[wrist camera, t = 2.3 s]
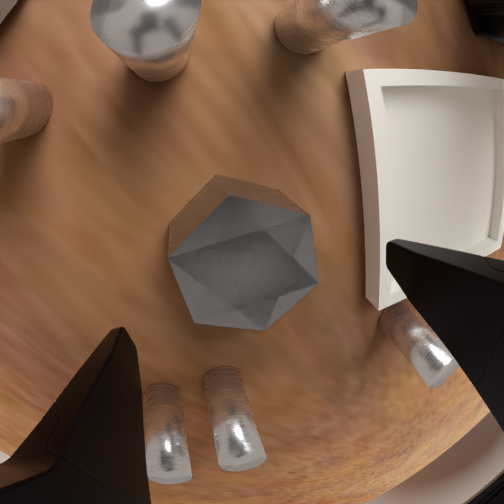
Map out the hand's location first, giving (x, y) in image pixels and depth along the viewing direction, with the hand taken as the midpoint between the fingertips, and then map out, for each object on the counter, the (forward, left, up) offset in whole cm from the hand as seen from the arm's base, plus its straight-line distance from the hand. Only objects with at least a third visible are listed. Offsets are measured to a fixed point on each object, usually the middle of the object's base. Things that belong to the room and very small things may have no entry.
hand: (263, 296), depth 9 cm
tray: (-13, 0, -5) cm, 14 cm away
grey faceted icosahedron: (0, 0, -5) cm, 5 cm away
